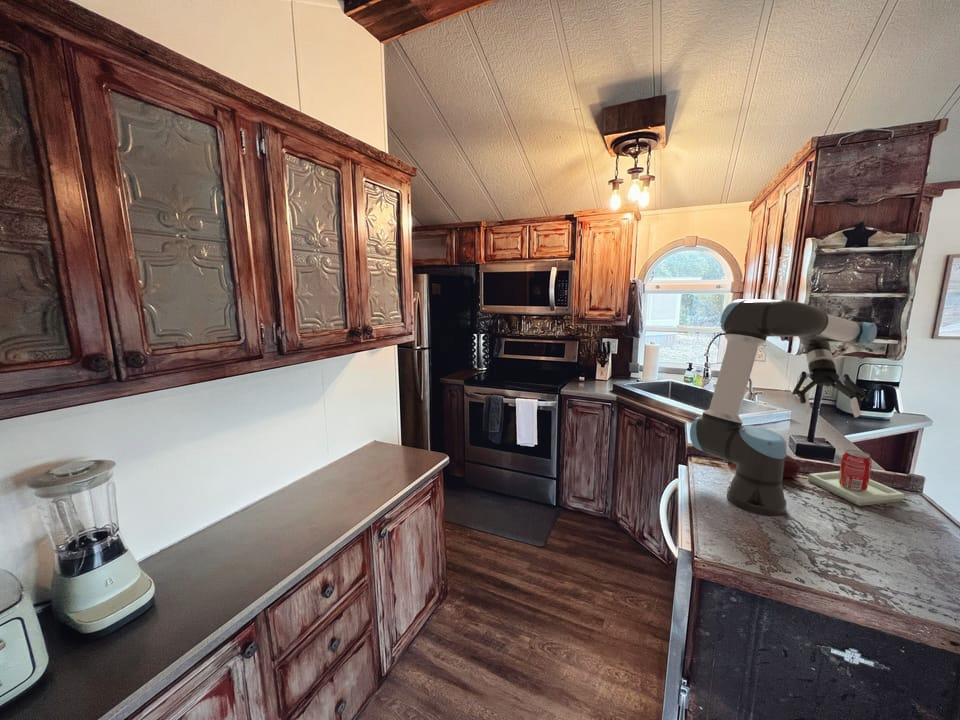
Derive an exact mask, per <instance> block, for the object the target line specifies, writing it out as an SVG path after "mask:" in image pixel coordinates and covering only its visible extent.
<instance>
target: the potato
mask: <svg viewBox="0 0 960 720" xmlns="http://www.w3.org/2000/svg"><path fill="white" fill-rule="evenodd" d="M800 469H801V467H800V464H799V462H798V461H797V460H796V459H795V458H793V456H790V455H788V454H786V457H785V464H784V471H783V478H791V477H794V476H796V475H797V474H798V472H799V471H800Z"/></svg>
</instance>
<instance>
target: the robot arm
mask: <svg viewBox="0 0 960 720" xmlns="http://www.w3.org/2000/svg"><path fill="white" fill-rule="evenodd" d="M720 328H721V330H722V331H723V332H724V338H725V339H726V340H727V344H726V347H725V351H724V355H723V358H722V361H721V362H722V363H721V365H720V370H719V374H718V377H717V379H716V384H715V387H714V391H713V395H712V398H711V401H710V405H709V408H708V409H706V410H704V411H702V415H700V416H697V417H696V418H694V420H693V421H692V422H691V425H690V427H689V428H690V429H689V438H690V441H691V443H692V446H693V447H694V448H695V449H696V450H699V451H701V452H703V453H705V454H707V455H710V456H714V457H716V458H719V459H721V460H724V461H726V462H730V463H732V464H734V465H736V466H735V468H736V469H735V475H734V476H733V478H732V480H731V482H730V484H729V485H728V487H727V490H726V497H727V499H728V501H729V502H730V503H732V504H733V505H734V506H737V507H738V508H740V509H742V510H744V511H748V512H750V513H753V514H757V515H762V516H771V517H773V516H774V517H775V516H781V515H783V514H785V513H786V510H787V500H786V497H785V493H784V490H783V486H782V485H783V484H782V483H783V478H784V477H783V471H784V464H785V457H786V455H788V454H787V441H786V440H785V438H784V437H783V436H782V435H781V434H779V433H778V432H776V431H773V430H771V429H770V428H769V429H768V428H765V427H763V426H756V425H744V426H742V425H743V421H742V420H741V418H740V416H739V415H740V412H741V409H742V405H743V401H744V400H745V399H744V398H745V396H746V392H747V387H748V383H749V381H750V379H751V373H752V370H753V367H754V363H755V361H756V360H755V359H756V356H757V353H758V349H759V347H760V346H761V345H763V344H765V343H766V341H767V338H768V337H779V338H780V337H781V338H782V337H786V338H787V337H788V338H789V337H790V338H791V337H793V338H794V337H797V338H799V340H800V342H801V344H802V345H803V348H804V353H805V356H806V361H807V365H808V366H807V367H808V372H809V373H807V372H806V371H801V373H800V375H799V380H798V382H797V383H796V386H795V387H794V389H793V390H792V392H791V393H792V395H797V397H798V398H799V401H800V404H803V407H804V412H805V413H807V414H809V412H810V411H811V410H812V408H811V402H810V397H809V394H808V392H809V391H810V390H811V389H812V388H814V387H815V386H816V385H817V386H820V387H824V386H825V387H832V388H834V389H836V390H838V391H840V392H841V393H842V394H843V395H845V396H846V397H848V398H849V399H850V400H849V403H850V407H851V409H852V410H851V411H852V414H853V417H854V418H858V417H860V415H861V410H860V408H862V403H861V401H863V400H864V398H867V394H866V393H865V392H864V391H863V390H862V389H861V388H860V387H859V386H858V385H857V384H856V382H854V381H853V380H852V379H851V377H850V375H849V374H847V373H845V374H843V375H839V374H838V373H837V368H836V364H835V359H834V356H833V352H832V350H831V344H830V342H833V343H834V342H837V343H846V344H847V343H848V344H853V345H854V344H855V345H870V344H872V343H874V342H875V340H876V337H877V333H878V327H877V325H876V324H875V323H873V322H866V321H855V320H849V319H846V318H842V317H839V316H836V315H833V314H829V313H827V311H825V310H824V309H822V308H820V307H818V306H813V305H809V304H808V303H804V302H801V301H800V302H799V301H795V300H789V299H766V298H765V299H763V298H762V299H759V298H758V299H757V298H754V299H753V298H745V299H735V300H733V301H731V302H730V303H729V304H727V305H726V306H725V308H724V309H723V311H722V313H721V316H720ZM821 362H822V363H821ZM825 364H826V365H825ZM820 369H821V370H820ZM808 378H809V379H810V380H811V382H809V383H808V384H807V385H806V386H805V387H804V388H803V389H801V390H800V388H801V387H802V385H803V384H804V382H805V380H807V379H808Z"/></svg>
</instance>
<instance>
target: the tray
mask: <svg viewBox="0 0 960 720" xmlns="http://www.w3.org/2000/svg"><path fill="white" fill-rule="evenodd" d="M839 472H840V470H836V471H835V470H834V471H826V472H816V473H815V472H814V473H808V478H807V481H808V482H810V483H812V484H814V485H816V486H818V487H820V488H822V489H825V490H826V491H828V492H830V493H832V494H835V495H837V496H838V497H841V498H843V499H844V500H846V501H848V502H850V503H852V504H855V505H856V506H858V507H861V506H871V505H880V504H888V503H890V504H891V503H898V502H904V497H905V493H903V492H901V491H900V490H899V491H898V490H896V489H894V488H892V487H890V486H887V485H886V484H882V483H880V482H878V481H875V480H873V479H871V478H870V479H869V484H868V487H867V489H866V490H862V491H854V490H850V489H847V488H845V487H843V486H842V485H841V484H840V483H839Z"/></svg>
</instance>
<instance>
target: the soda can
mask: <svg viewBox="0 0 960 720" xmlns="http://www.w3.org/2000/svg"><path fill="white" fill-rule="evenodd" d="M872 465H873V460H872V459H871V455H870V454H869V453H867V452H865V451H861V450H857V449H846V450H845V452H844V453H843V454H842V457H841V461H840V467H839V471H840V472H839V483H840V484H841V485H842V486H843V487H845V488H847V489H850V490H854V491H862V490H866V489H867V487H868V484H869V479H871V478H870V477H871V472H872Z"/></svg>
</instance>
